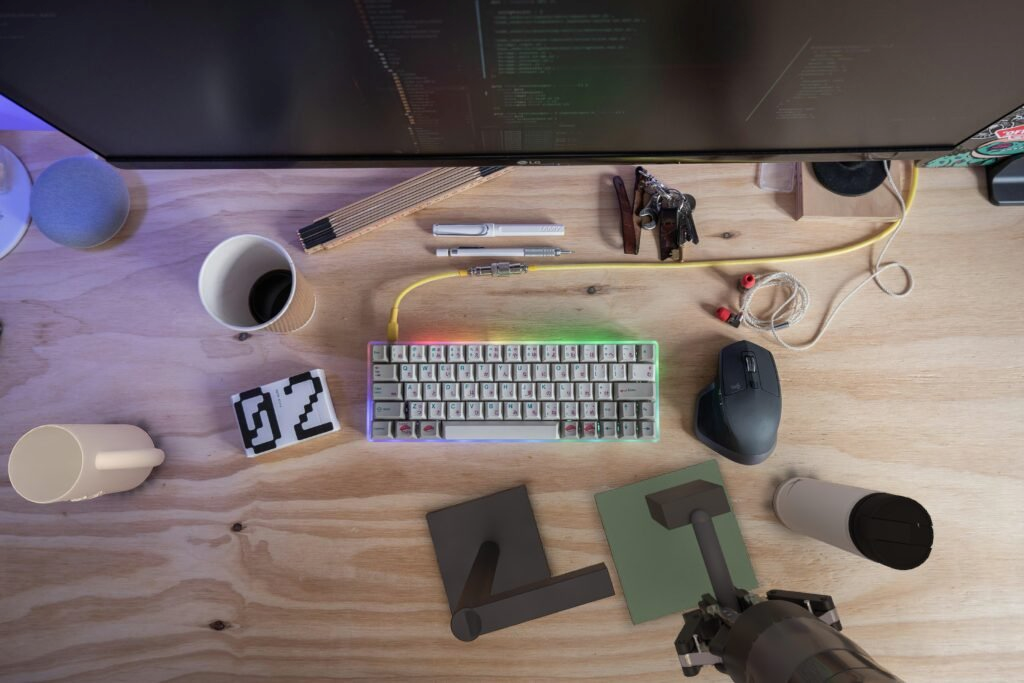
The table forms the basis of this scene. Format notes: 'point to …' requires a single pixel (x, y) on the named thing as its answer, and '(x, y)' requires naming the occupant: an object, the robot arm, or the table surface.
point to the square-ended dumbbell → (698, 529)
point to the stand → (503, 566)
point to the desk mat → (667, 547)
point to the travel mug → (857, 520)
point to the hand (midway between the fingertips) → (720, 600)
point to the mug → (81, 461)
